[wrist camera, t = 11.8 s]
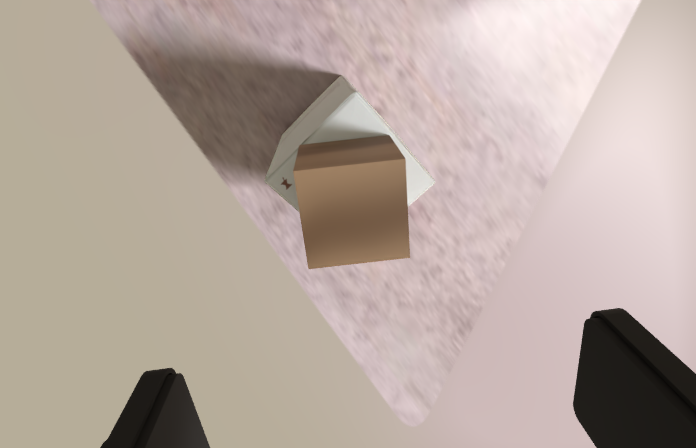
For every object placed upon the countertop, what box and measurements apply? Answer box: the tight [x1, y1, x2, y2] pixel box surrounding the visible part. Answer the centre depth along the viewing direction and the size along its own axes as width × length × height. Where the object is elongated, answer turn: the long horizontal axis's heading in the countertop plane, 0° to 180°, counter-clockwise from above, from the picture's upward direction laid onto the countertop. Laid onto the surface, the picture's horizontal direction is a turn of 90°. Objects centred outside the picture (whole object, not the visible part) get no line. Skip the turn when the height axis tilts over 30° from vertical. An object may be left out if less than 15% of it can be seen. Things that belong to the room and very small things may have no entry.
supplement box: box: [264, 75, 435, 211], centre depth 30 cm, size 7×7×13 cm
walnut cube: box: [293, 135, 410, 269], centre depth 22 cm, size 5×5×5 cm
